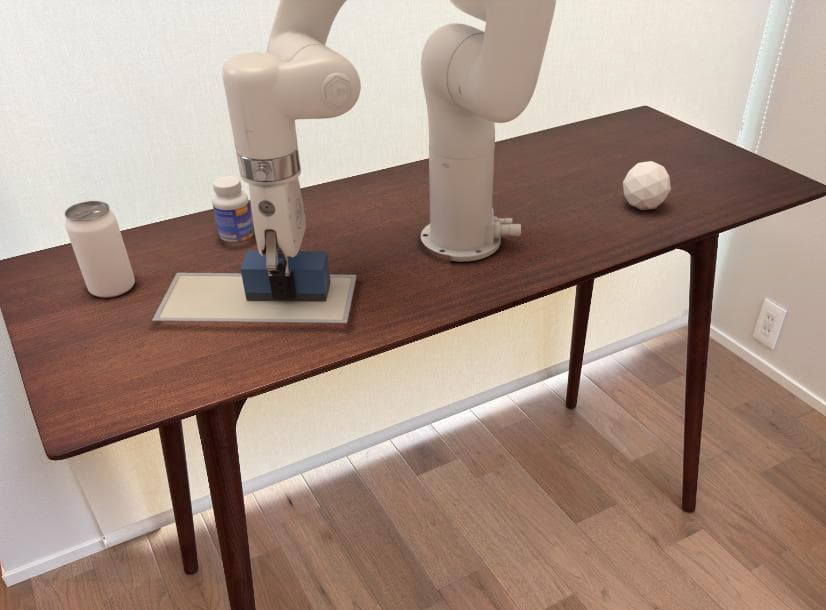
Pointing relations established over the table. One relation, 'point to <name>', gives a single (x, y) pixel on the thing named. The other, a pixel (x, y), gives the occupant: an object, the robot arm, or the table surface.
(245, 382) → the table surface
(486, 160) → the robot arm
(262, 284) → the eraser
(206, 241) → the table surface
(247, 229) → the pill bottle
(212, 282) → the whiteboard
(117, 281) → the can
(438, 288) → the table surface
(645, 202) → the geometric ball
